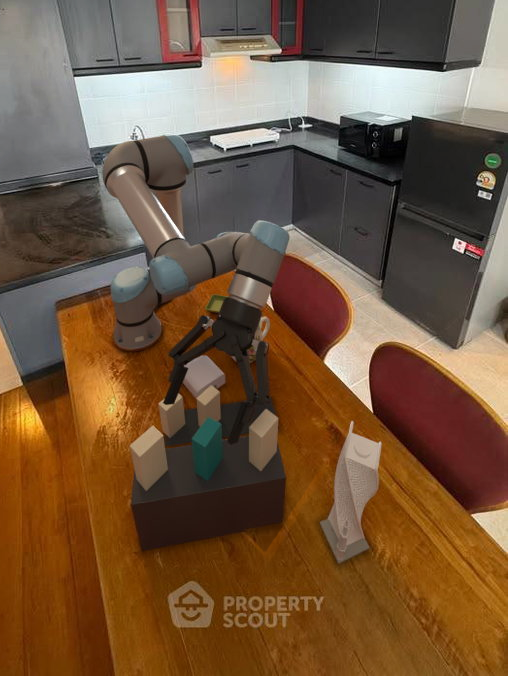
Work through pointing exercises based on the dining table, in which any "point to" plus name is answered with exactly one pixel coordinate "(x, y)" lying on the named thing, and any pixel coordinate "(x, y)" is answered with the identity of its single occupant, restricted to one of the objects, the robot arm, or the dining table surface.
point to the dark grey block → (202, 416)
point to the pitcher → (257, 338)
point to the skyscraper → (352, 495)
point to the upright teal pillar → (207, 448)
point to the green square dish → (215, 303)
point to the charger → (202, 375)
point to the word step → (206, 487)
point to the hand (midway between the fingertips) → (198, 422)
